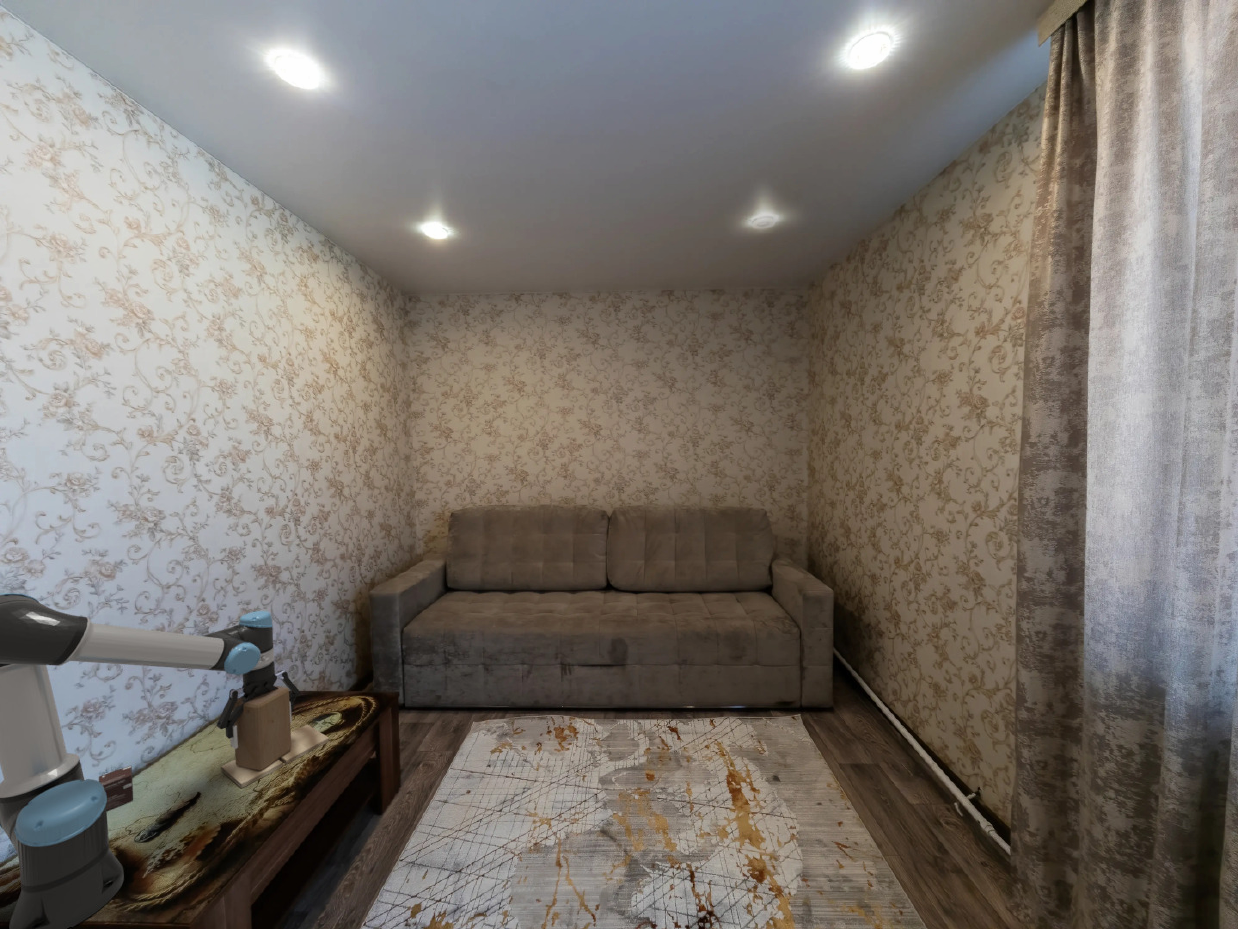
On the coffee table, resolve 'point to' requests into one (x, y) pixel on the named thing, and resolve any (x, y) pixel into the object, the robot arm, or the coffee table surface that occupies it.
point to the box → (118, 787)
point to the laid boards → (303, 743)
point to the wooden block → (263, 729)
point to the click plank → (248, 772)
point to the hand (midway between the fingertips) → (262, 733)
